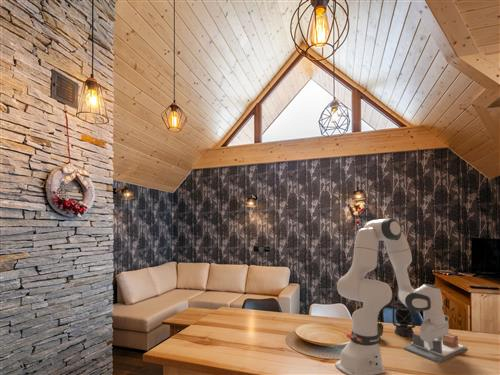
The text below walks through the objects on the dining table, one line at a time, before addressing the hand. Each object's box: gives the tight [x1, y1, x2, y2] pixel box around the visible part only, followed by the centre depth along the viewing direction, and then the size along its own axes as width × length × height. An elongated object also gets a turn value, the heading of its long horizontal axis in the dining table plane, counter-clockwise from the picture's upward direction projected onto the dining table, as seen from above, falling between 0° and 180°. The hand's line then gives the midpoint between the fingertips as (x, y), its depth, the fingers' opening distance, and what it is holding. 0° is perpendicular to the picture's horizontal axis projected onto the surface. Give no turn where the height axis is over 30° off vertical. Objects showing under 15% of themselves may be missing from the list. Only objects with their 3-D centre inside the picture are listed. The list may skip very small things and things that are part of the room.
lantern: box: [391, 284, 416, 338], centre depth 173 cm, size 12×11×30 cm
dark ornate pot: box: [377, 321, 384, 340], centre depth 165 cm, size 8×7×8 cm
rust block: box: [443, 332, 459, 348], centre depth 151 cm, size 5×5×5 cm
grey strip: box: [410, 332, 443, 350], centre depth 156 cm, size 20×8×6 cm, turn 121°
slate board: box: [403, 344, 468, 364], centre depth 150 cm, size 28×17×1 cm, turn 121°
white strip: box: [427, 340, 465, 357], centre depth 148 cm, size 20×8×6 cm, turn 121°
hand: (435, 346), depth 144 cm, fingers open, 6 cm apart
